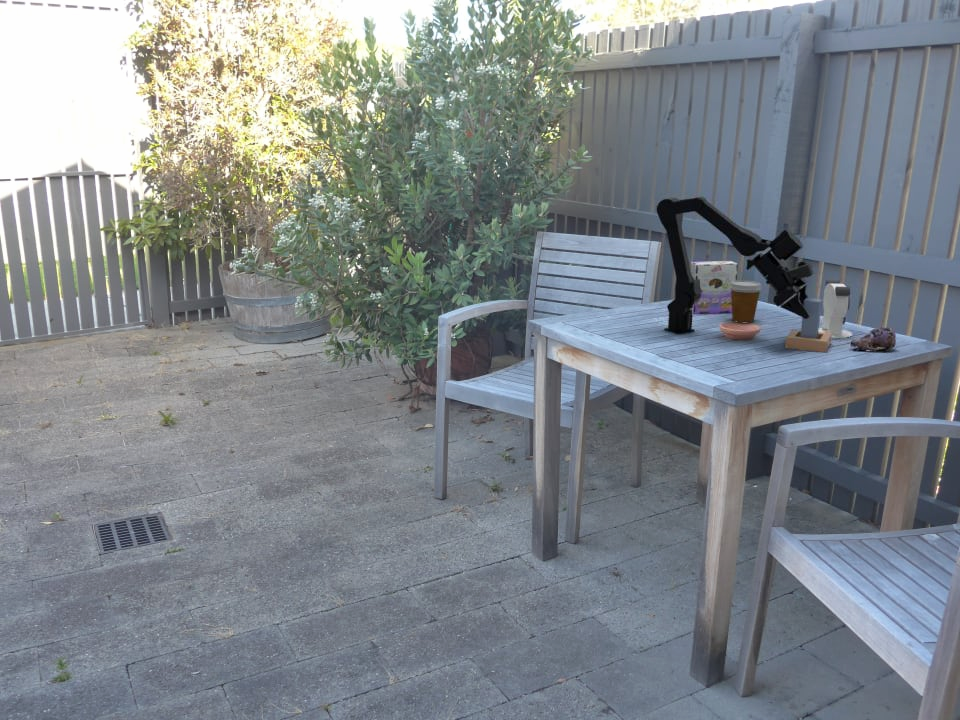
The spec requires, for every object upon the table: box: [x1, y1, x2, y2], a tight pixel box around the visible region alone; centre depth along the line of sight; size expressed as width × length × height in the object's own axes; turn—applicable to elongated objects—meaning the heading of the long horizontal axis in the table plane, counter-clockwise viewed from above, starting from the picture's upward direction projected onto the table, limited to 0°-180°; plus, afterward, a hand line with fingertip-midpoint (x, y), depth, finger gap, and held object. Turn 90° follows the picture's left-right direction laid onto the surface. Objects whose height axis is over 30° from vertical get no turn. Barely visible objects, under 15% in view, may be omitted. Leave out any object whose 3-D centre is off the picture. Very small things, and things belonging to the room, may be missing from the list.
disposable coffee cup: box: [730, 280, 763, 324], centre depth 260 cm, size 10×10×12 cm
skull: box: [850, 327, 897, 352], centre depth 228 cm, size 12×8×6 cm, turn 90°
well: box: [784, 329, 833, 353], centre depth 232 cm, size 10×10×3 cm
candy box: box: [690, 260, 739, 315], centre depth 273 cm, size 14×6×16 cm, turn 94°
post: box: [800, 297, 823, 339], centre depth 231 cm, size 4×4×13 cm
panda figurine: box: [818, 280, 853, 340], centre depth 243 cm, size 12×11×15 cm
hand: (810, 314), depth 230 cm, fingers open, 9 cm apart
